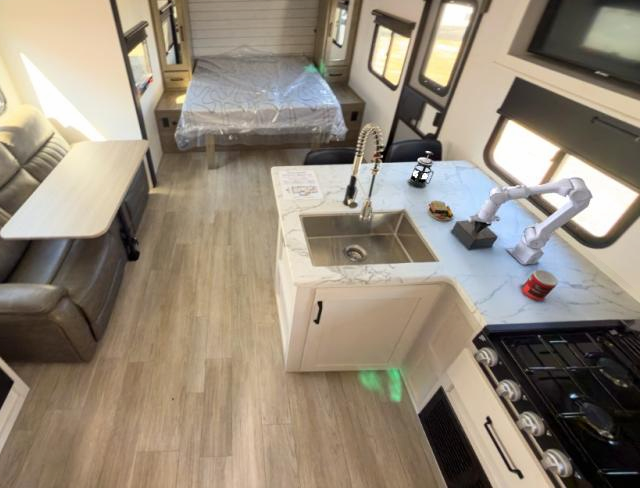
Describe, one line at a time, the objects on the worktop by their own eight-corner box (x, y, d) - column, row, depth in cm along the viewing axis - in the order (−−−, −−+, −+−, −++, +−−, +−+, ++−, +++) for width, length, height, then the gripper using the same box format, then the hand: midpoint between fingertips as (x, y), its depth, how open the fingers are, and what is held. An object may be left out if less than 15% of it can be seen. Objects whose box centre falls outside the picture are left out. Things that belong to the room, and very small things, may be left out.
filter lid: (485, 238, 155) (486, 237, 154) (474, 239, 154) (474, 239, 154) (467, 220, 165) (467, 220, 165) (456, 221, 164) (456, 221, 164)
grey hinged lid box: (491, 246, 159) (498, 236, 155) (468, 249, 158) (474, 239, 154) (473, 229, 170) (478, 219, 165) (451, 231, 168) (456, 221, 164)
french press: (405, 183, 204) (417, 152, 191) (411, 177, 210) (422, 146, 196) (424, 190, 198) (438, 159, 184) (429, 184, 203) (443, 153, 189)
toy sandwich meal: (430, 220, 176) (433, 213, 173) (424, 205, 186) (427, 198, 183) (455, 223, 173) (458, 216, 171) (448, 207, 184) (451, 201, 181)
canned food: (533, 285, 141) (547, 269, 134) (548, 301, 134) (563, 284, 128) (516, 285, 140) (529, 269, 134) (530, 301, 134) (545, 285, 127)
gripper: (479, 216, 147) (467, 237, 155) (510, 215, 147) (496, 236, 155) (470, 206, 152) (458, 227, 161) (499, 205, 153) (486, 226, 161)
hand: (476, 231), depth 158 cm, fingers closed, pressing on filter lid
